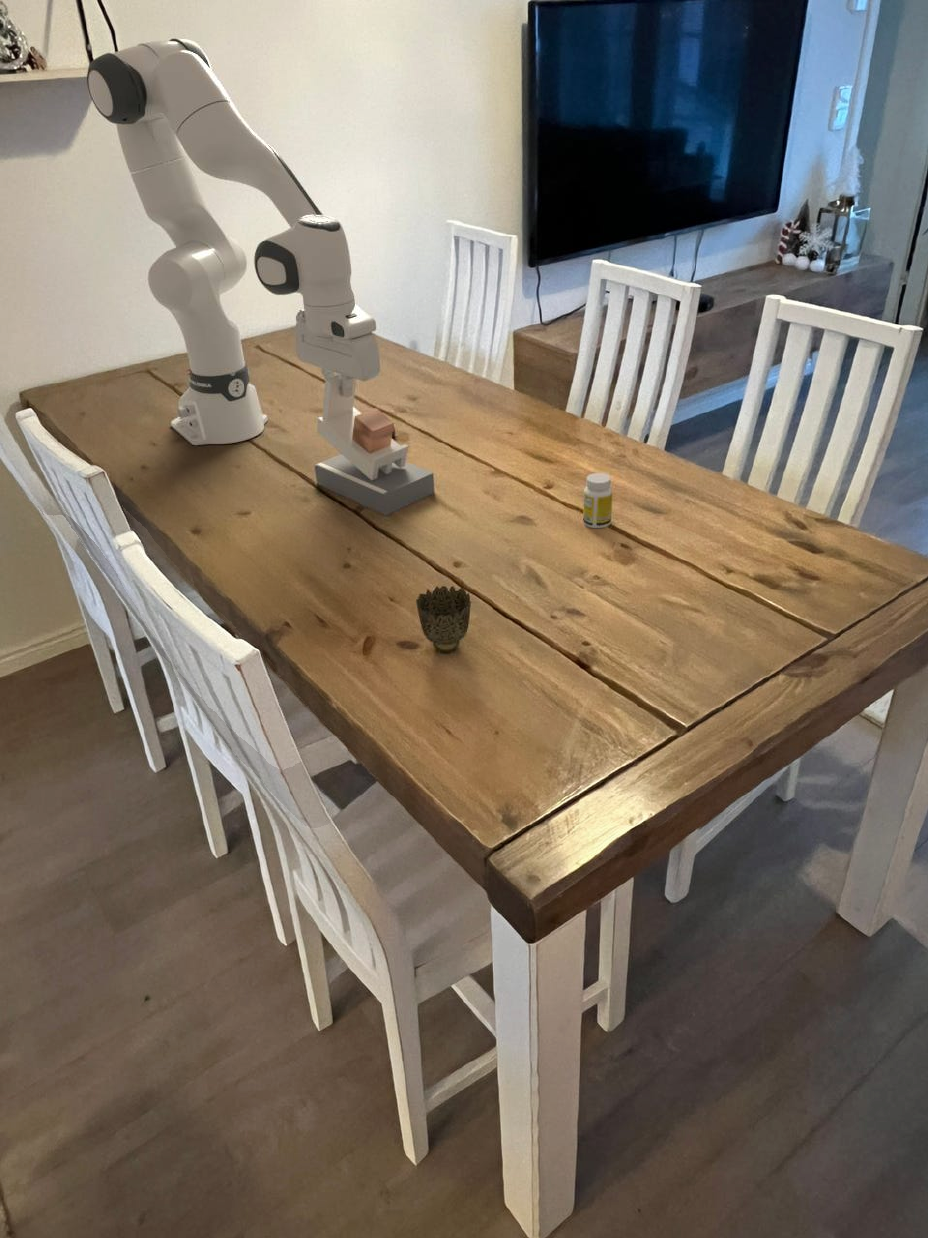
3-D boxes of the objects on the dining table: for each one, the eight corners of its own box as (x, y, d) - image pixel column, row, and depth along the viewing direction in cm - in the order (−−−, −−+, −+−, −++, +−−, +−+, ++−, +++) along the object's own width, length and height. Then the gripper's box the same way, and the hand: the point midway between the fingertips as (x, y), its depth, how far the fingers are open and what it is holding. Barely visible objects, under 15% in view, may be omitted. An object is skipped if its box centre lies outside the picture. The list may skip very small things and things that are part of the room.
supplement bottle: (613, 518, 157) (615, 473, 152) (607, 530, 153) (610, 485, 148) (586, 514, 158) (587, 470, 153) (580, 527, 154) (581, 482, 150)
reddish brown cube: (352, 438, 165) (354, 416, 161) (373, 430, 167) (376, 407, 164) (369, 453, 163) (372, 431, 159) (390, 445, 165) (394, 422, 162)
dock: (317, 484, 173) (314, 463, 171) (365, 463, 180) (363, 444, 177) (385, 515, 161) (383, 494, 159) (434, 492, 168) (433, 471, 165)
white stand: (316, 432, 169) (321, 380, 161) (350, 420, 174) (355, 368, 166) (371, 480, 163) (379, 428, 155) (404, 465, 168) (413, 415, 159)
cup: (418, 634, 129) (415, 586, 125) (470, 630, 130) (468, 582, 125) (421, 665, 123) (417, 616, 119) (475, 660, 124) (473, 612, 119)
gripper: (281, 311, 162) (292, 386, 170) (353, 331, 150) (362, 411, 157) (309, 303, 166) (319, 377, 173) (382, 322, 153) (389, 400, 161)
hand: (340, 393), depth 165 cm, fingers closed on white stand, 2 cm apart
